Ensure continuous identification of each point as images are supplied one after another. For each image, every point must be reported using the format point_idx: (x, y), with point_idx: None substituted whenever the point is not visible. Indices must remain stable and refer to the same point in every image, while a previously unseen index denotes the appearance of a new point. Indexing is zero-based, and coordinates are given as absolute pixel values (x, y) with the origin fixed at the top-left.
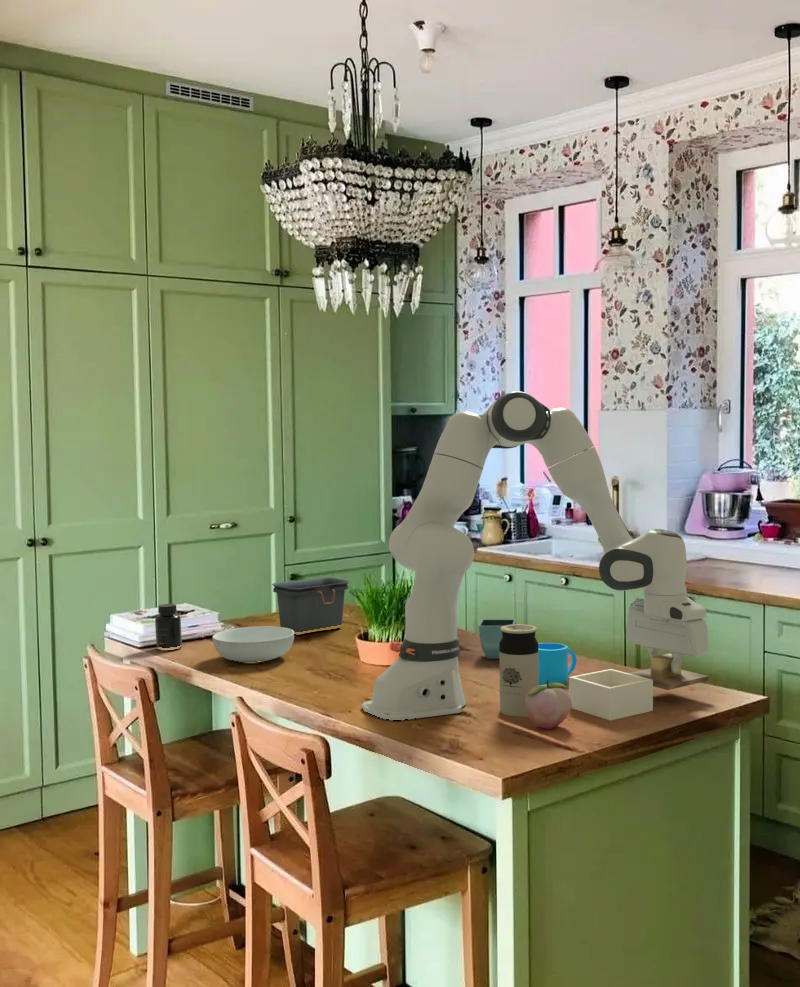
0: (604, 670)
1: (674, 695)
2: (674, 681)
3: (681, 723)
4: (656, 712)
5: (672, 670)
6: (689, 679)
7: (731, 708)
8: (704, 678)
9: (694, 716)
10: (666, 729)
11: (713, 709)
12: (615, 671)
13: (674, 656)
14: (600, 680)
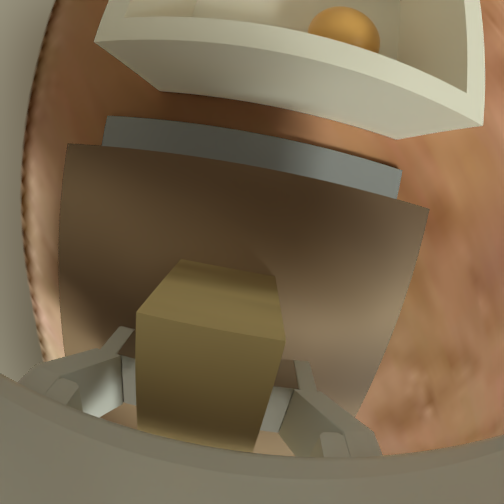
0: (479, 65)
1: None
2: (88, 248)
3: (39, 80)
4: (157, 113)
5: (122, 330)
6: (72, 333)
7: (41, 336)
8: None
9: (43, 177)
10: (52, 7)
11: (56, 295)
12: (432, 77)
13: (49, 377)
14: (441, 33)
